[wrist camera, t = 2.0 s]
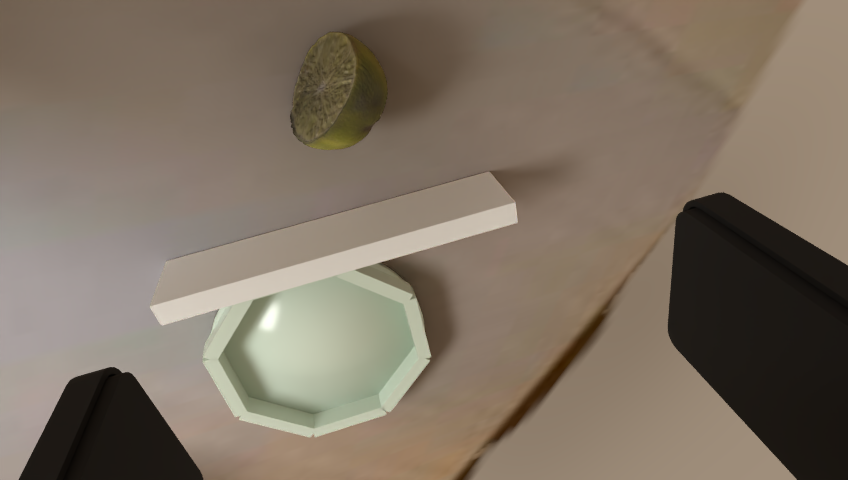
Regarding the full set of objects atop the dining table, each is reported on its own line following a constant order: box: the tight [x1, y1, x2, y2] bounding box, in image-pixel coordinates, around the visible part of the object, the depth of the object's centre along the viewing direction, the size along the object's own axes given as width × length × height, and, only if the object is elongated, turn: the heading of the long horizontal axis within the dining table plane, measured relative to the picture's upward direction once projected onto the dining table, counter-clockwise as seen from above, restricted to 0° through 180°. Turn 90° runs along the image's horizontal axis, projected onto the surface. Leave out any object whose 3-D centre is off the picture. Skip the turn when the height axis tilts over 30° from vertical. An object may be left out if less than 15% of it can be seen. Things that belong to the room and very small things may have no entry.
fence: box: [150, 171, 518, 326], centre depth 27 cm, size 1×18×4 cm, turn 101°
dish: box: [202, 263, 431, 437], centre depth 32 cm, size 13×13×2 cm
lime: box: [290, 32, 387, 150], centre depth 23 cm, size 4×5×5 cm
